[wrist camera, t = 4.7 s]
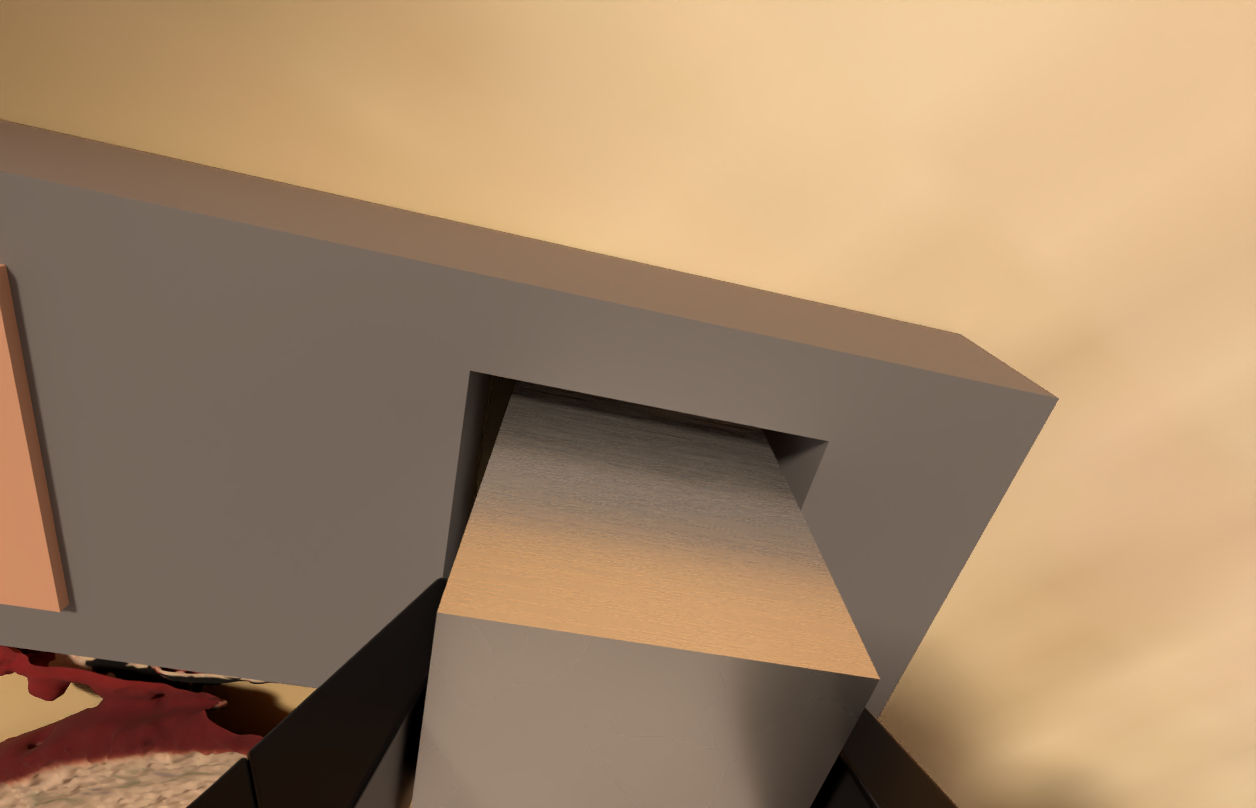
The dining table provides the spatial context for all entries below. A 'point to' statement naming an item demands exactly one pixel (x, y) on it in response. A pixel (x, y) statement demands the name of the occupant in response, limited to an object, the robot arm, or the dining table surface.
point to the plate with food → (117, 736)
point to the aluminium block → (635, 622)
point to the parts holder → (405, 410)
